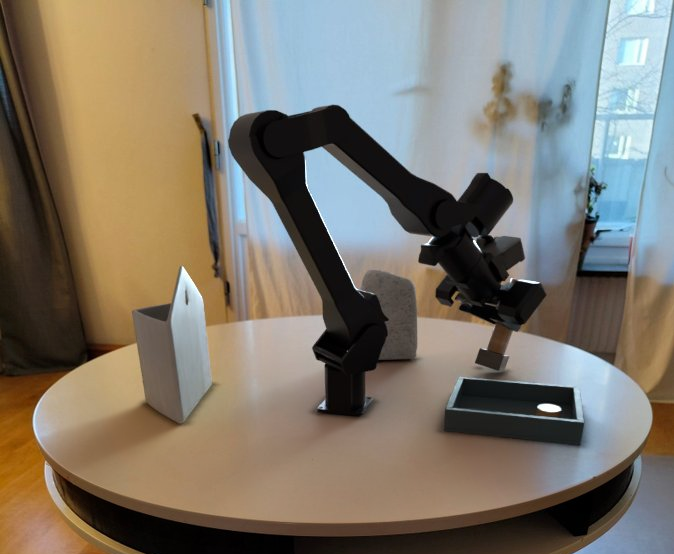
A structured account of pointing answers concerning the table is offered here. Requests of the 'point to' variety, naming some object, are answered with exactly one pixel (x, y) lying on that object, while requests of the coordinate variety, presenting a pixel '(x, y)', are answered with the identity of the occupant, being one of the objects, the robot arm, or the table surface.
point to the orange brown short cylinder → (548, 410)
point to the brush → (496, 347)
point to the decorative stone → (395, 312)
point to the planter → (174, 351)
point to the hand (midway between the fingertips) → (510, 327)
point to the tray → (514, 410)
